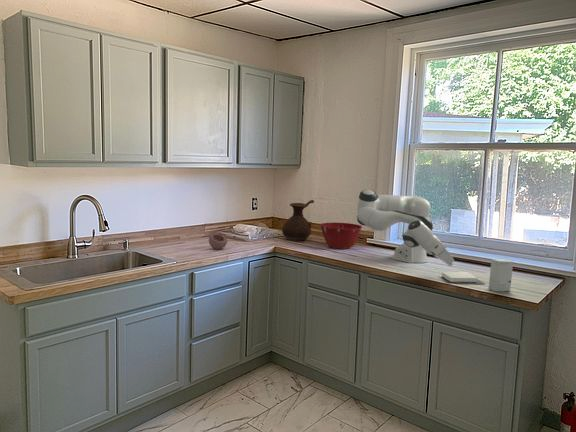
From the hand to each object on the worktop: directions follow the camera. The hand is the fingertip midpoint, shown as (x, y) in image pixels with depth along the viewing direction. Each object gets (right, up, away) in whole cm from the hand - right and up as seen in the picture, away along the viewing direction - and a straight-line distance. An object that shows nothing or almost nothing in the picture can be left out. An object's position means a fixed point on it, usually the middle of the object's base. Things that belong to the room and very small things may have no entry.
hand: (450, 265), depth 240 cm
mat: (+8, -8, +2) cm, 11 cm away
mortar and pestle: (-130, +4, +61) cm, 144 cm away
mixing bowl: (-48, +4, +79) cm, 93 cm away
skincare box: (+19, -11, -15) cm, 26 cm away
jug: (-78, +8, +102) cm, 129 cm away
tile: (-2, -6, +1) cm, 6 cm away
